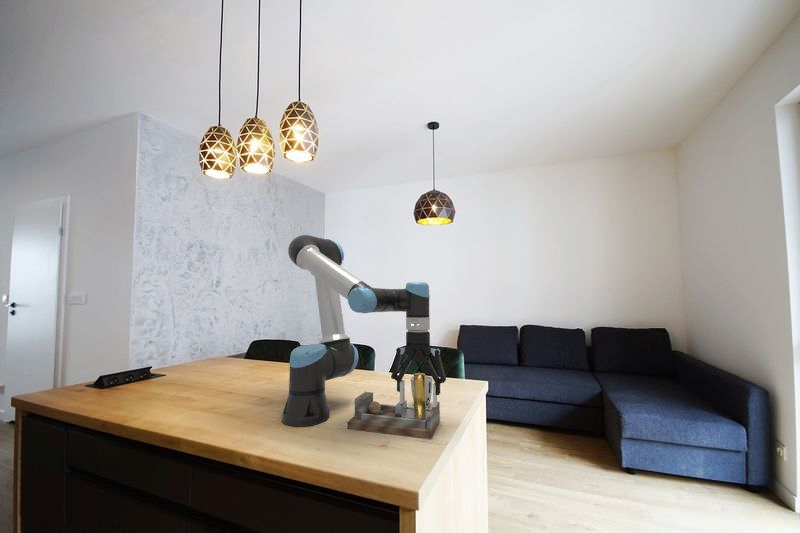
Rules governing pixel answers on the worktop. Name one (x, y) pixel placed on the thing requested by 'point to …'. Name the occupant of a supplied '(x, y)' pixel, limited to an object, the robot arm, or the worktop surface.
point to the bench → (392, 420)
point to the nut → (374, 408)
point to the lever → (415, 401)
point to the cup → (427, 387)
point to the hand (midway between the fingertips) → (418, 404)
